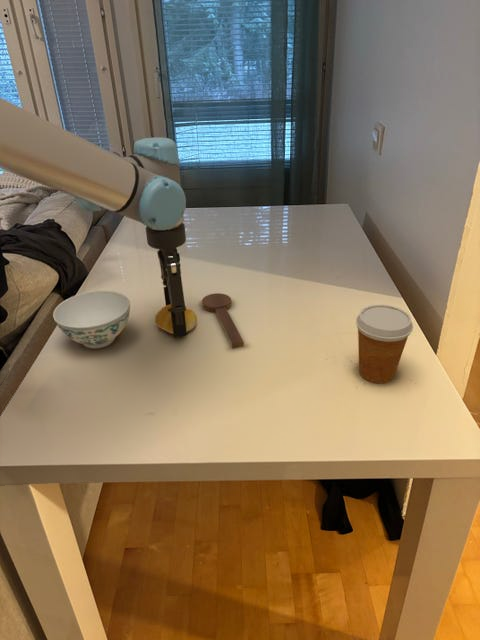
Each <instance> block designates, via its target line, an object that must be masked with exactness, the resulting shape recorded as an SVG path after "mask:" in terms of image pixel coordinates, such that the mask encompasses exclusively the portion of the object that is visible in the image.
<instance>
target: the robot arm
mask: <svg viewBox="0 0 480 640" xmlns="http://www.w3.org/2000/svg"><path fill="white" fill-rule="evenodd" d="M179 159H180V158H179V152H178V149H177V144H176V142H175V141H174V140H173V139H171V138H168V137H161V136H159V137H158V136H157V137H146V138H142V139H138V140H136V141H135V142H134V144H133V154H131V155H128V156H123V157H122V156H120V155H118V154H116V153H114V152H112V151H110V150H108V149H106V148H104V147H101V146H100V145H97V144H95V143H93V142H91V141H90V140H87V139H85V138H83V137H82V136H79V135H77V134H75V133H73V132H72V131H70V130H67V129H65V128H63V127H61V126H59V125H57V124H55V123H53V122H51V121H49V120H46V119H45V118H42V117H41V116H38V115H37V114H34V113H32V112H31V111H28V110H26V109H25V108H22V107H20V106H18V105H16V104H14V103H12V102H10V101H8V100H6V99H5V98H2V97H0V170H2V171H5V172H8V173H11V174H14V175H16V176H18V177H21V178H24V179H26V180H29V181H32V182H35V183H37V184H40V185H42V186H45V187H48V188H50V189H53V190H56V191H58V192H61V193H63V194H66V195H69V196H71V197H74V199H75V201H76V203H77V204H78V206H79V207H80V208H81V209H82V210H83V211H84V212H87V213H91V212H97V211H99V212H101V211H103V210H107V211H111V212H113V213H116V214H118V215H120V216H123V217H126V218H128V219H130V220H134V221H136V222H138V223H141V224H143V226H145V236H146V241H147V242H146V243H147V245H148V246H149V247H150V248H152V249H155V250H157V251H156V252H157V259H158V263H159V266H160V267H159V268H160V278H161V280H162V285H163V295H164V303H165V306H166V305H169V304H171V308H170V309H168V312H171V318H172V326H173V334H172V335H173V338H178V337H183V336H187V335H188V331H187V330H186V321H185V311H186V309H187V307H186V301H185V294H184V288H183V280H182V269H181V266H182V265H181V263H180V262H181V256H180V253H179V252H178V249H177V248H179V247H181V246H183V245H184V244H185V243H186V242H187V236H186V225H185V223H183V222H184V221H185V217H184V214H185V211H186V209H187V207H186V206H187V200H186V199H187V198H186V193H185V192H184V189H183V188H182V184H181V170H180V166H181V164H180V160H179Z"/></svg>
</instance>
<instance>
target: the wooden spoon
mask: <svg viewBox="0 0 480 640" xmlns="http://www.w3.org/2000/svg"><path fill="white" fill-rule="evenodd" d="M201 307H202V309H203V310H204V311H206V312H208V313H215V315H216V316H215V317H216V318H217V320H218V323H219V324H220V326H221V328H222V330H223V332H224V335H225V336H226V339H227V340H228V342H229V345H230V347H231V348H232V349H236V348H242V347H244V340H243V338H242V336H241V334H240V331H239V330H238V329H237V326H236V324H235V323H234V321H233V319H232V317H231V315H230V314H229V311H228V310H229V309H231V307H232V298H231V297H230V295H228V294H225V293H221V292H220V293H219V292H218V293H217V292H216V293H209V294H207V295H205V296H204V297H203V298H202V299H201Z"/></svg>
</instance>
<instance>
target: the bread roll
mask: <svg viewBox="0 0 480 640" xmlns="http://www.w3.org/2000/svg"><path fill="white" fill-rule="evenodd" d="M170 308H171V304H169V305H166V304H165V306H163V307H162V308H161V309H160V310H158V311H157V313H156V315H155V318H154V322H155V324H156V326H157V327H158V328H160V329H161V330H163V331H166V332H167V333H169V334H172V335H173V326H172V318H171V312H168V309H170ZM185 321H186V330H187V332H189V331H192V330H193V329H194V328H195V327H196V325H197V322H198V317H197V314H196V312H195V311H194V310H193V309H191V308H186V311H185Z"/></svg>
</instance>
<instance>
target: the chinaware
mask: <svg viewBox="0 0 480 640" xmlns="http://www.w3.org/2000/svg"><path fill="white" fill-rule="evenodd" d="M130 312H131V301H130V298H128V296H126V295H125V294H123V293H122V292H117V291H113V290H92V291H87V292H82V293H79V294H76V295H72V296H70V297H69V298H67V299H65V300H63V301H62V302H60V303H59V304H58V305H57V306H56V307H55V308H54V310H53V313H52V316H53V320H54V322H55V324H56V325H57V328H59V330H60V331H61V332H62V333H63V334H64V335H65V336H66V337H67V338H68V339H70V340H72V341H74V342H76V343H78V344H81V345H83V346H84V347H86V348H89V349H101V348H104V347H107V346H109V345H111V344H112V343H113V342H114V341H115V340H116V337H118V336H119V335H120V333H122V331H123V330H124V328H125V327H126V325H127V323H128V320H129V317H130Z"/></svg>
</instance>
